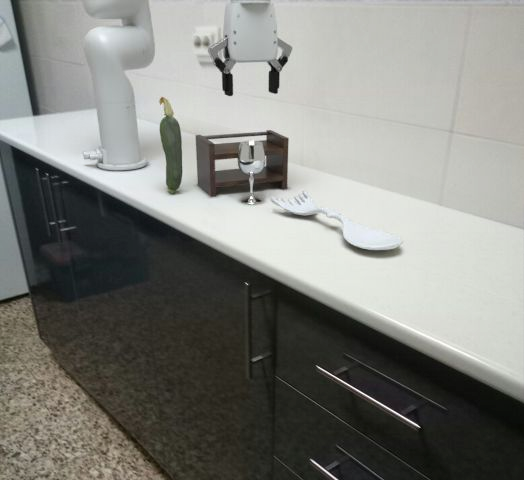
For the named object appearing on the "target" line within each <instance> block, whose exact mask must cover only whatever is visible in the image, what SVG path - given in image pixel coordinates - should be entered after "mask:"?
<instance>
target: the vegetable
mask: <svg viewBox="0 0 524 480" xmlns="http://www.w3.org/2000/svg"><path fill="white" fill-rule="evenodd" d="M158 103H159V105H160V106H161V105H162V104H163V112H164V114H163V115H164V117H163V118H162V119H161V121H160V123H159V136H160V141H161V146H162V150H163V153H164V157H165V184H166V187H167V188H166V189H167V190H168V192H169V193H170V194H175V193H177V191H178V190H179V189H180V187H181V184H182V181H183V180H182V179H183V145H182V142H183V141H182V132H181V126H180V123H179V121H178V120H177V119H176V118H175V117H174V114H175V113H174V109H173V107H172V105H171V103H170V101H169V100H168V99H167V98H166V97H165V96H161V97H160V98H159V101H158Z"/></svg>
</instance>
